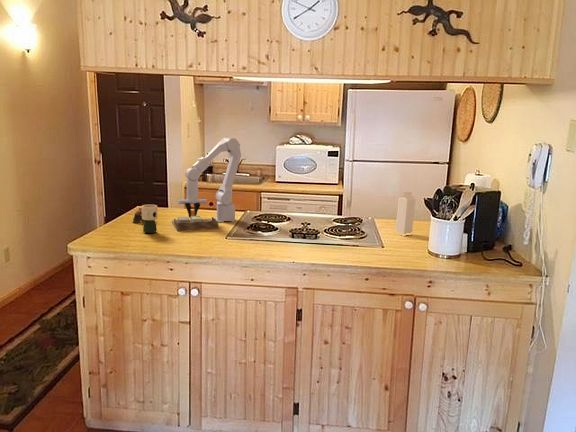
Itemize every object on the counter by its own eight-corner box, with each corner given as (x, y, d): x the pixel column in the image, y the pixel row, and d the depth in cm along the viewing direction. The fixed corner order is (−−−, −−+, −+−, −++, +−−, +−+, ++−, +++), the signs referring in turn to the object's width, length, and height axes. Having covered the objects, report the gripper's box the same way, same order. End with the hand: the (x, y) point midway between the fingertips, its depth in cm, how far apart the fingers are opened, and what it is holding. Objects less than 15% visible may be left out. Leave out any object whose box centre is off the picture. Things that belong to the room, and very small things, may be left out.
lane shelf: (210, 220, 267) (210, 213, 266) (218, 229, 251) (218, 221, 250) (171, 222, 260) (171, 214, 259) (177, 231, 243) (177, 223, 243)
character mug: (154, 235, 234) (153, 208, 231) (139, 235, 234) (138, 208, 231) (160, 230, 244) (159, 203, 241) (145, 229, 244) (145, 203, 241)
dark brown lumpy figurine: (129, 222, 259) (135, 207, 261) (146, 228, 264) (151, 214, 265) (135, 221, 249) (141, 205, 251) (153, 228, 253) (159, 213, 255)
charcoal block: (186, 224, 253) (186, 216, 252) (189, 227, 247) (189, 219, 246) (177, 225, 251) (177, 217, 250) (179, 227, 246) (179, 220, 245)
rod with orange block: (196, 219, 262) (196, 210, 261) (201, 226, 250) (202, 216, 248) (187, 220, 261) (187, 210, 259) (192, 226, 248) (192, 216, 247)
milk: (395, 234, 256) (398, 191, 252) (403, 232, 260) (407, 190, 255) (404, 236, 252) (407, 193, 247) (412, 235, 255) (416, 192, 250)
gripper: (179, 193, 251) (179, 219, 254) (208, 192, 256) (207, 218, 259) (177, 190, 257) (177, 216, 260) (205, 190, 262) (205, 215, 265)
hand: (192, 217), depth 260 cm, fingers closed on rod with orange block, 2 cm apart
